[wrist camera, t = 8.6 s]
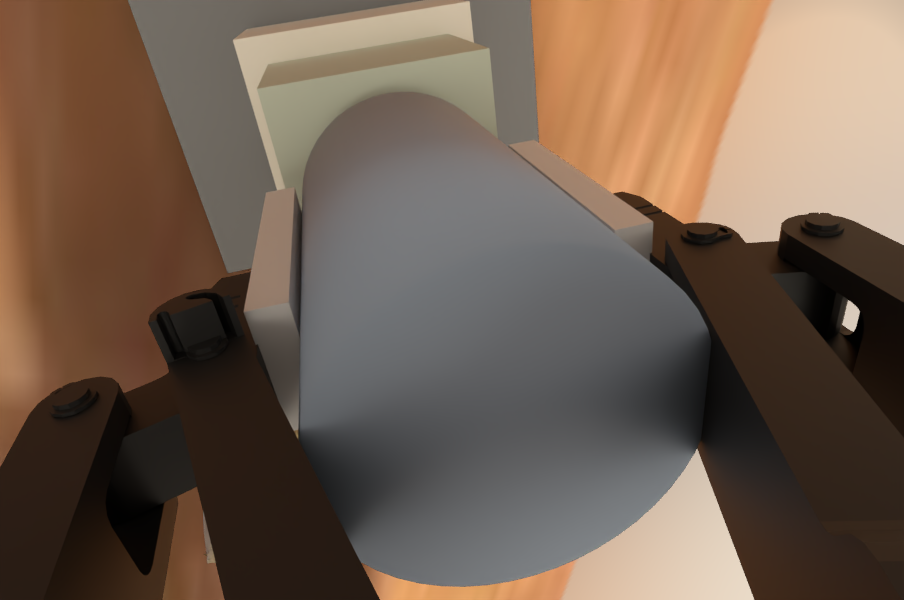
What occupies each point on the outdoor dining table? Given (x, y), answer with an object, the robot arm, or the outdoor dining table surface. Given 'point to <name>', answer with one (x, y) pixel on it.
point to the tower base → (341, 42)
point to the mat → (230, 110)
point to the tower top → (368, 90)
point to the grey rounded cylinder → (480, 353)
